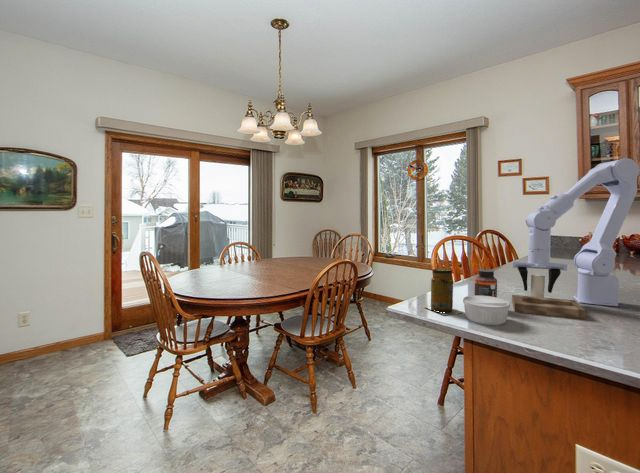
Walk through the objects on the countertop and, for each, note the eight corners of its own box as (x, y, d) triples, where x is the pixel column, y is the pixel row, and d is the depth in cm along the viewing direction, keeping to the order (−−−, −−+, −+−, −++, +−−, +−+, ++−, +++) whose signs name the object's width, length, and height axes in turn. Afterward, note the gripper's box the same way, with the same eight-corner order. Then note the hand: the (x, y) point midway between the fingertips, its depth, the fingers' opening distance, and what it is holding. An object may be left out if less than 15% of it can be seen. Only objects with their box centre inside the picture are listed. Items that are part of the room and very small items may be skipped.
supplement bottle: (499, 311, 94) (500, 272, 93) (477, 310, 95) (478, 271, 94) (492, 305, 100) (493, 268, 99) (471, 304, 101) (472, 268, 100)
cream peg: (542, 299, 106) (543, 275, 105) (544, 302, 103) (545, 277, 102) (529, 298, 107) (530, 274, 107) (531, 301, 104) (532, 276, 104)
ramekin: (488, 329, 79) (489, 308, 79) (453, 316, 90) (453, 297, 89) (519, 323, 84) (520, 303, 84) (482, 311, 94) (483, 293, 94)
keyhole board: (574, 308, 96) (574, 300, 96) (584, 319, 86) (585, 310, 86) (511, 302, 103) (511, 294, 103) (514, 311, 93) (514, 303, 93)
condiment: (443, 305, 100) (443, 266, 100) (464, 313, 93) (464, 271, 92) (423, 308, 98) (424, 268, 97) (443, 316, 90) (443, 273, 89)
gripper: (513, 249, 104) (512, 291, 105) (570, 251, 97) (568, 296, 98) (511, 247, 110) (510, 287, 111) (564, 248, 103) (563, 291, 104)
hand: (537, 291), depth 105 cm, fingers open, 6 cm apart
